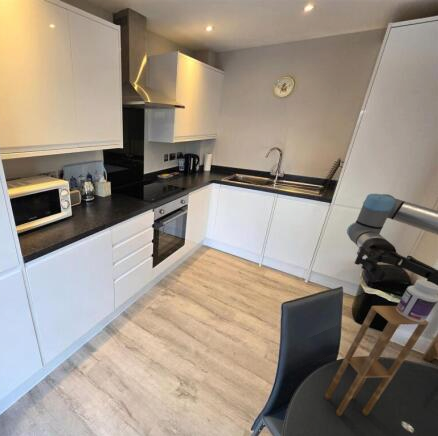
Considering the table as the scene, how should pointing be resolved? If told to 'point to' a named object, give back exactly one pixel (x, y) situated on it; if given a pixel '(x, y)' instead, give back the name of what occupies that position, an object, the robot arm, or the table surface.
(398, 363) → the stand frame
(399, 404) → the table surface
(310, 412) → the table surface
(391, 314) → the shelf
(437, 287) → the pill bottle
